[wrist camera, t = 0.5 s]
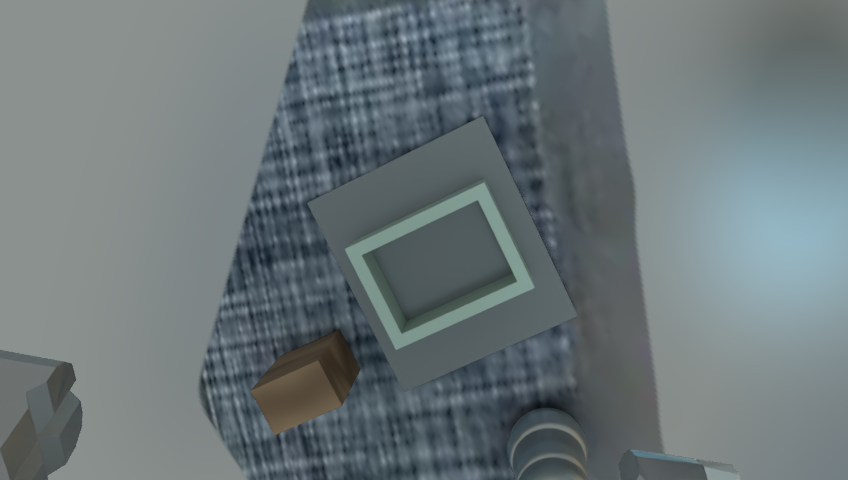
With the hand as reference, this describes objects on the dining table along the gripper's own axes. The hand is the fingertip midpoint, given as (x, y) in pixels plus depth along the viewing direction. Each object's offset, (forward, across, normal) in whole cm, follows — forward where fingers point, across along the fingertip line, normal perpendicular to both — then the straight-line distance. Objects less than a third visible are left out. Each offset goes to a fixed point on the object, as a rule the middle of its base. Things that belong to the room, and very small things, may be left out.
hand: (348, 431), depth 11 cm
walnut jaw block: (+38, -6, -38) cm, 54 cm away
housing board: (+42, +3, -28) cm, 50 cm away
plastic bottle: (+36, +14, -40) cm, 55 cm away
